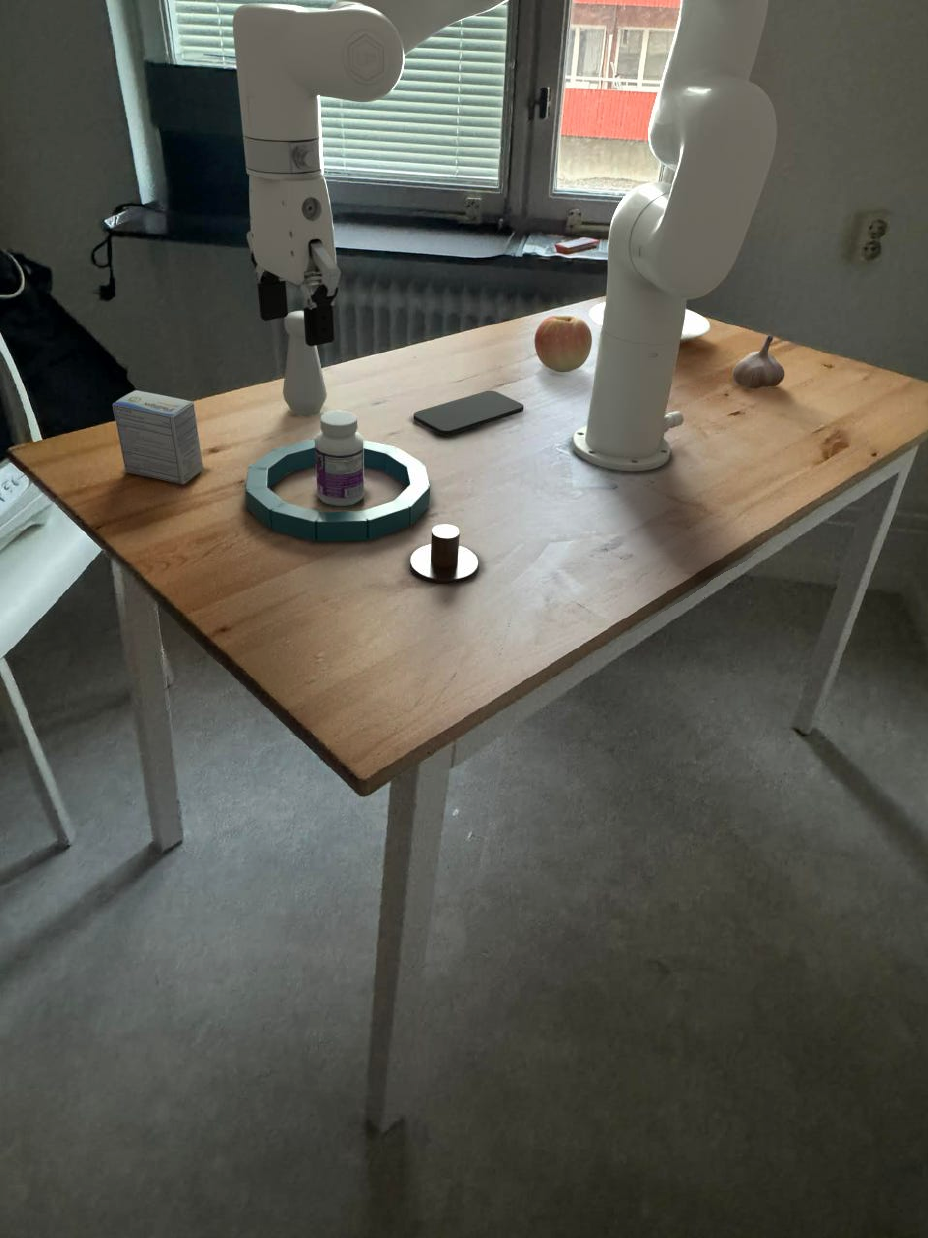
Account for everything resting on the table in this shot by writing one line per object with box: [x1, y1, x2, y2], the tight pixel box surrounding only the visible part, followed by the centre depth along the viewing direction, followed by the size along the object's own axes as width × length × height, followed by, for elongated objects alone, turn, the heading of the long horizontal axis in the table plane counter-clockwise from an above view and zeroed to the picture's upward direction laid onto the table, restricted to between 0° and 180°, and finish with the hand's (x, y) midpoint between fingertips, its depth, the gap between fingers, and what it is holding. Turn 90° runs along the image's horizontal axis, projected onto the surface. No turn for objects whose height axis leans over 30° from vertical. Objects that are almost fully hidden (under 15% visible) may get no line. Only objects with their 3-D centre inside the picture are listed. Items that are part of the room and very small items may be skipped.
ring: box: [245, 438, 431, 543], centre depth 100 cm, size 20×20×2 cm
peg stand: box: [409, 523, 479, 585], centre depth 89 cm, size 7×7×4 cm
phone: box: [413, 390, 525, 437], centre depth 121 cm, size 7×1×15 cm
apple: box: [533, 315, 593, 373], centre depth 136 cm, size 9×9×8 cm
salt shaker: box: [282, 310, 328, 418], centre depth 116 cm, size 6×6×13 cm
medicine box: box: [112, 390, 204, 486], centre depth 101 cm, size 8×4×9 cm, turn 71°
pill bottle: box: [314, 409, 365, 507], centre depth 98 cm, size 5×5×10 cm
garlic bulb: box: [732, 334, 785, 390], centre depth 135 cm, size 8×7×8 cm
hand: (296, 330), depth 97 cm, fingers open, 9 cm apart
